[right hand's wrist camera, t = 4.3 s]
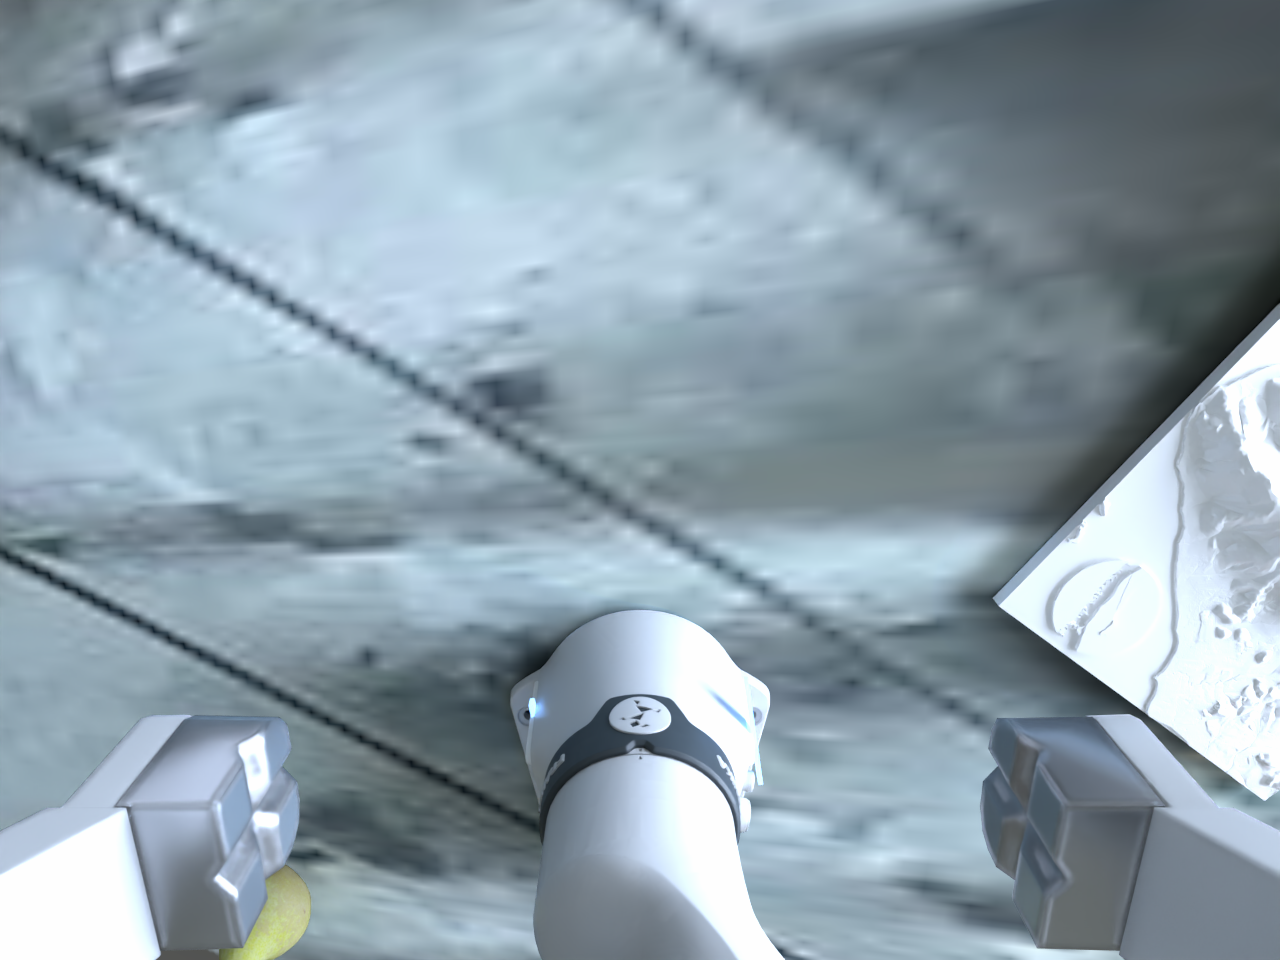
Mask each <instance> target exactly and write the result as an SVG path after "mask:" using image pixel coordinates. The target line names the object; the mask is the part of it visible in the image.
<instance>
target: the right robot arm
mask: <svg viewBox="0 0 1280 960" xmlns="http://www.w3.org/2000/svg"><path fill="white" fill-rule="evenodd" d="M510 706H511V710H512V713H513V717H514V720H515V723H516V727H517V730H518V734H519V737H520V741H521V744H522V748H523V751H524V755H525V758H526V763H527V765H528V768H529V772H530V775H531V779H532V782H533V786H534V789H535V793H536V796H537V800H538V803H539V813H540V818H539V831H540V837H541V843H542V846H543V849H542V856H541V863H540V870H539V877H538V885H537V892H536V899H535V907H534V914H533V926H534V934H535V940H536V944H537V947H538V951H539V954H540V956H541V958H542V960H785V959H784V958H783V957H782V956H781V955H780V953H779V952H778V951H777V949H776V948H775V947H774V946H773V944H772V943H771V942H770V940H769V939H768V937H767V936H766V934H765V933H764V931H763V930H762V928H761V927H760V925H759V923H758V921H757V919H756V917H755V915H754V912H753V910H752V907H751V904H750V900H749V896H748V893H747V889H746V885H745V881H744V877H743V872H742V868H741V863H740V858H739V852H738V847H737V846H738V843H739V838H740V832H741V833H744V832H747V830H748V828H749V823H750V815H751V806H750V801H749V800H747V799H746V798H743V796H744V793H745V792H752V791H753V788H754V779H755V778H754V772H753V771H751V769H752V765H753V763H754V759H755V766H756V773H757V779H758V784H759V785H762V784H763V780H762V773H761V766H760V759H759V752H758V744H759V741H760V737H761V734H762V731H763V727H764V724H765V720H766V717H767V713H768V710H769V706H770V693H769V690H768V688H767V687H766V686H765V685H764V684H763V683H762V682H761V681H759V680H758V679H756V678H755V677H753V676H751V675H750V674H748V673H746V672H744V671H743V670H741V669H739V668H738V667H737V666H736V665H735V663H734V662H733V661H732V660H731V658H730V657H729V656H728V654H727V653H726V651H725V650H724V649H723V647H722V646H721V645H720V644H719V643H718V642H717V641H716V639H715V638H713V637H712V636H711V635H710V634H709V633H708V632H706V631H705V630H704V629H702V628H701V627H699V626H698V625H696V624H694V623H692V622H690V621H688V620H686V619H684V618H681V617H679V616H676V615H673V614H669V613H665V612H660V611H653V610H627V611H620V612H615V613H611V614H607V615H604V616H601V617H599V618H596V619H594V620H592V621H590V622H588V623H586V624H584V625H582V626H581V627H579V628H578V629H576V630H575V631H574V632H572V633H571V634H570V635H569V636H568V637H567V638H566V639H565V640H564V641H563V642H562V643H561V644H560V645H559V646H558V647H557V649H556V650H555V651H554V653H553V654H552V656H551V657H550V658H549V660H548V661H547V662H546V664H545V665H544V666H543V667H542V668H541V669H539V670H537V671H536V672H534V673H532V674H530V675H529V676H527V677H525V678H524V679H522V680H521V681H519V682H518V683H517V684H516V685H515V686H514V687H513V688H512V690H511V693H510ZM527 710H530V714H528V713H526V711H527ZM753 711H754V713H753ZM291 749H292V747H291V742H290V737H289V732H288V727H287V724H286V723H285V722H284V721H283V720H282V719H281V718H280V717H260V716H212V715H195V716H190V715H151V716H147V717H144V718H141V719H140V720H139V721H138V722H137V723H136V724H135V725H134V726H133V727H132V728H131V730H130V731H129V732H128V733H127V734H126V735H125V736H124V737H123V738H122V740H121V741H120V742H119V743H118V744H117V745H116V746H115V747H114V749H113V750H112V751H111V752H110V753H109V754H108V755H107V756H106V758H105V759H104V760H103V761H102V762H101V763H100V764H99V765H98V767H97V768H96V769H95V770H94V771H93V772H92V773H91V774H90V776H89V777H88V778H87V779H86V780H85V781H84V782H83V783H82V784H81V786H80V787H79V788H78V789H77V790H76V791H75V792H74V793H73V795H72V796H71V797H70V798H69V799H68V800H67V801H66V802H65V804H64V805H63V806H62V807H61V808H45V809H43V810H41V811H39V812H37V813H35V814H33V815H31V816H29V817H27V818H25V819H23V820H21V821H19V822H17V823H15V824H13V825H11V826H9V827H7V828H5V829H3V830H1V831H0V960H156V959H157V958H158V957H159V956H160V955H161V952H160V951H165V950H196V949H197V950H199V949H233V948H243V947H244V945H245V943H246V941H247V939H248V937H249V935H250V933H251V931H252V929H253V927H254V925H255V923H256V921H257V919H258V917H259V915H260V913H261V911H262V909H263V907H264V906H265V904H266V902H267V900H268V895H267V889H266V883H265V880H266V879H267V878H269V877H270V876H272V875H273V874H274V873H276V872H277V871H279V870H280V869H281V868H283V867H284V865H285V863H286V861H287V859H288V857H289V855H290V853H291V850H292V848H293V846H294V841H295V837H296V832H297V828H298V823H299V802H300V799H299V792H298V785H297V781H296V780H295V779H294V778H293V777H292V776H291V775H290V774H289V773H288V772H287V771H286V770H285V769H284V768H283V767H282V765H283V763H284V761H285V760H286V758H287V756H288V754H289V753H290V751H291ZM988 749H989V751H990V753H991V754H992V756H993V758H994V760H995V761H996V763H997V765H998V767H997V768H996V769H995V770H994V771H993V772H992V773H991V774H990V775H989V776H988V777H987V778H986V779H985V780H984V781H983V786H982V794H981V803H980V810H981V821H982V831H983V834H984V838H985V841H986V845H987V848H988V851H989V853H990V855H991V857H992V859H993V861H994V863H995V865H996V867H997V868H999V869H1000V870H1001V871H1003V872H1004V873H1006V874H1007V875H1008V876H1010V877H1011V878H1013V879H1014V880H1015V883H1014V889H1013V895H1012V900H1013V902H1014V904H1015V905H1016V907H1017V909H1018V911H1019V913H1020V915H1021V917H1022V919H1023V921H1024V923H1025V925H1026V927H1027V929H1028V931H1029V933H1030V935H1031V937H1032V939H1033V941H1034V943H1035V945H1036V947H1037V948H1045V949H1080V950H1115V951H1120V952H1119V955H1120V956H1121V957H1123V958H1124V959H1125V960H1280V831H1279V830H1277V829H1275V828H1273V827H1271V826H1269V825H1267V824H1265V823H1263V822H1261V821H1259V820H1257V819H1255V818H1253V817H1251V816H1249V815H1247V814H1245V813H1243V812H1241V811H1239V810H1237V809H1235V808H1219V807H1218V806H1217V805H1216V804H1215V802H1214V801H1213V800H1212V799H1211V798H1210V797H1209V796H1208V795H1207V793H1206V792H1205V791H1204V790H1203V789H1202V788H1201V787H1200V786H1199V785H1198V783H1197V782H1196V781H1195V780H1194V779H1193V778H1192V777H1191V776H1190V774H1189V773H1188V772H1187V771H1186V770H1185V769H1184V768H1183V767H1182V765H1181V764H1180V763H1179V762H1178V761H1177V760H1176V759H1175V758H1174V756H1173V755H1172V754H1171V753H1170V752H1169V751H1168V750H1167V749H1166V747H1165V746H1164V745H1163V744H1162V743H1161V742H1160V741H1159V740H1158V739H1157V737H1156V736H1155V735H1154V734H1153V733H1152V732H1151V731H1150V730H1149V728H1148V727H1147V726H1146V725H1145V724H1144V723H1143V722H1142V721H1141V720H1140V719H1138V718H1136V717H1134V716H1132V715H1130V714H1125V715H1095V716H1085V717H1036V718H997V719H996V722H995V724H994V726H993V728H992V730H991V735H990V741H989V747H988Z"/></svg>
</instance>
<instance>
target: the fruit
mask: <svg viewBox="0 0 1280 960" xmlns="http://www.w3.org/2000/svg"><path fill="white" fill-rule="evenodd" d="M265 883H266V889H267V895H268V900H267V902H266V904H265V906H264V907H263V909H262V911H261V913H260V915H259V917H258V919H257V921H256V923H255V925H254V927H253V929H252V931H251V933H250V935H249V937H248V939H247V941H246V943H245V945H244V947H243V948H233V949H219V960H273V959H275V958H277V957H279V956H280V955H282V954H284V953H285V952H286V951H288V950H289V949H290V948H291V947H292V946H294V945H295V944H296V943H297V941H298V940H299V939H300V938H301V937H302V935H303V934H304V932H305V930H306V928H307V926H308V923H309V920H310V914H311V897H310V892H309V890H308V888H307V886H306V884H305V882H304V881H303V880H302V879H301V878H300V876H299V875H298V874H297V873H296V872H295V871H293V870H292V869H291V868H290V867H288V866H287V865H284V867H283V868H281V869H280V870H279V871H277V872H276V873H274V874H273V875H272V876H270V877H269V878H267V879H266V880H265Z"/></svg>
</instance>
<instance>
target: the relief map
mask: <svg viewBox="0 0 1280 960" xmlns="http://www.w3.org/2000/svg"><path fill="white" fill-rule="evenodd" d="M993 599H994V601H995V602H996V603H997V604H998V606H999V607H1001V608H1002V609H1003V610H1005V611H1006V612H1008V613H1009V614H1010V615H1012V616H1013V617H1014V618H1016V619H1017V620H1018V621H1020V622H1021V623H1023V624H1024V625H1025V626H1027V627H1028V628H1029V629H1031V630H1032V631H1034V632H1035V633H1036V634H1038V635H1039V636H1040V637H1042V638H1043V639H1045V640H1046V641H1047V642H1049V643H1050V644H1051V645H1053V646H1054V647H1055V648H1057V649H1058V650H1060V651H1061V652H1062V653H1064V654H1065V655H1066V656H1068V657H1069V658H1071V659H1072V660H1073V661H1075V662H1076V663H1077V664H1079V665H1080V666H1081V667H1083V668H1084V669H1086V670H1087V671H1088V672H1090V673H1091V674H1092V675H1094V676H1095V677H1097V678H1098V679H1099V680H1101V681H1102V682H1103V683H1105V684H1106V685H1108V686H1109V687H1110V688H1112V689H1113V690H1114V691H1116V692H1117V693H1118V694H1120V695H1121V696H1123V697H1124V698H1125V699H1127V700H1128V701H1129V702H1131V703H1132V704H1134V705H1135V706H1136V707H1138V708H1139V709H1140V710H1142V711H1143V712H1145V713H1146V714H1147V715H1148V716H1149V717H1151V718H1152V719H1154V720H1155V721H1157V722H1158V723H1160V724H1161V725H1162V726H1164V727H1165V728H1166V729H1168V730H1169V731H1171V732H1172V733H1173V734H1175V735H1176V736H1177V737H1179V738H1180V739H1181V740H1183V741H1184V742H1186V743H1187V744H1188V745H1189V746H1190V747H1192V748H1193V749H1195V750H1196V751H1197V752H1199V753H1200V754H1201V755H1203V756H1204V757H1206V758H1207V759H1208V760H1210V761H1211V762H1212V763H1214V764H1215V765H1216V766H1218V767H1219V768H1221V769H1222V770H1223V771H1225V772H1226V773H1227V774H1229V775H1230V776H1231V777H1233V778H1234V779H1235V780H1237V781H1238V782H1240V783H1241V784H1242V785H1244V786H1245V787H1246V788H1248V789H1249V790H1251V791H1252V792H1253V793H1255V794H1256V795H1257V796H1259V797H1260V798H1261V799H1263V800H1264V801H1265V800H1266V799H1267V798H1269V797H1270V796H1272V795H1273V794H1275V793H1276V792H1277V791H1278V790H1280V303H1279V304H1278V305H1277V306H1276V307H1275V308H1274V309H1273V310H1272V311H1271V312H1270V313H1269V314H1268V315H1267V317H1266V318H1265V319H1264V320H1263V321H1262V322H1261V323H1260V324H1259V325H1258V326H1257V327H1256V328H1255V329H1254V330H1253V331H1252V332H1251V333H1250V334H1249V335H1248V336H1247V337H1246V338H1245V339H1244V340H1243V341H1242V342H1241V343H1240V344H1239V345H1238V346H1237V347H1236V348H1235V349H1234V350H1233V351H1232V353H1231V354H1230V355H1229V356H1228V357H1227V358H1226V359H1225V360H1224V361H1223V362H1222V363H1221V364H1220V365H1219V366H1218V367H1217V368H1216V369H1215V370H1214V371H1213V372H1212V373H1211V374H1210V375H1209V376H1208V377H1207V378H1206V379H1205V380H1204V381H1203V382H1202V383H1201V384H1200V385H1199V386H1198V387H1197V389H1196V390H1195V391H1194V392H1193V393H1192V394H1191V395H1190V396H1189V397H1188V398H1187V399H1186V400H1185V401H1184V402H1183V403H1182V404H1181V405H1180V406H1179V407H1178V408H1177V409H1176V410H1175V411H1174V412H1173V413H1172V414H1171V415H1170V416H1169V417H1168V418H1167V419H1166V420H1165V421H1164V422H1163V423H1162V425H1161V426H1160V427H1159V428H1158V429H1157V430H1156V431H1155V432H1154V433H1153V434H1152V435H1151V436H1150V437H1149V438H1148V439H1147V440H1146V441H1145V442H1144V443H1143V444H1142V445H1141V446H1140V447H1139V448H1138V449H1137V450H1136V451H1135V452H1134V453H1133V454H1132V455H1131V456H1130V457H1129V458H1128V459H1127V460H1126V462H1125V463H1124V464H1123V465H1122V466H1121V467H1120V468H1119V469H1118V470H1117V471H1116V472H1115V473H1114V474H1113V475H1112V476H1111V477H1110V478H1109V479H1108V480H1107V481H1106V482H1105V483H1104V484H1103V485H1102V486H1101V487H1100V488H1099V489H1098V490H1097V491H1096V492H1095V493H1094V494H1093V495H1092V496H1091V498H1090V499H1089V500H1088V501H1087V502H1086V503H1085V504H1084V505H1083V506H1082V507H1081V508H1080V509H1079V510H1078V511H1077V512H1076V513H1075V514H1074V515H1073V516H1072V517H1071V518H1070V519H1069V520H1068V521H1067V522H1066V523H1065V524H1064V525H1063V526H1062V527H1061V528H1060V529H1059V530H1058V531H1057V532H1056V534H1055V535H1054V536H1053V537H1052V538H1051V539H1050V540H1049V541H1048V542H1047V543H1046V544H1045V545H1044V546H1043V547H1042V548H1041V549H1040V550H1039V551H1038V552H1037V553H1036V554H1035V555H1034V556H1033V557H1032V558H1031V559H1030V560H1029V561H1028V562H1027V563H1026V564H1025V565H1024V566H1023V567H1022V568H1021V570H1020V571H1019V572H1018V573H1017V574H1016V575H1015V576H1014V577H1013V578H1012V579H1011V580H1010V581H1009V582H1008V583H1007V584H1006V585H1005V586H1004V587H1003V588H1002V589H1001V590H1000V591H999V592H998V593H997V594H996V595H995V596H994V597H993Z"/></svg>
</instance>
